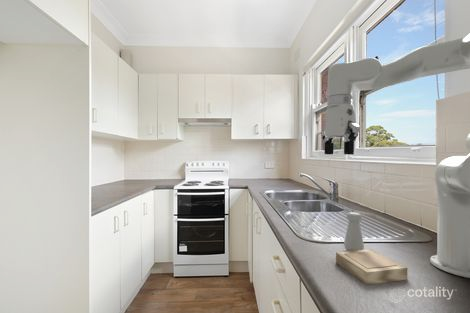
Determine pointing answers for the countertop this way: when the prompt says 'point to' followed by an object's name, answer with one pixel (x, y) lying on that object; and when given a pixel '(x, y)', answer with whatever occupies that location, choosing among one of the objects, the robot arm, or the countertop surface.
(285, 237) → the countertop surface
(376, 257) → the base board
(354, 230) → the salt shaker
